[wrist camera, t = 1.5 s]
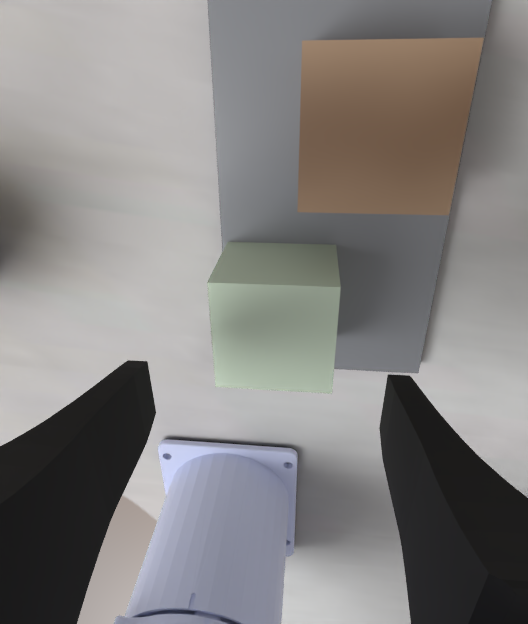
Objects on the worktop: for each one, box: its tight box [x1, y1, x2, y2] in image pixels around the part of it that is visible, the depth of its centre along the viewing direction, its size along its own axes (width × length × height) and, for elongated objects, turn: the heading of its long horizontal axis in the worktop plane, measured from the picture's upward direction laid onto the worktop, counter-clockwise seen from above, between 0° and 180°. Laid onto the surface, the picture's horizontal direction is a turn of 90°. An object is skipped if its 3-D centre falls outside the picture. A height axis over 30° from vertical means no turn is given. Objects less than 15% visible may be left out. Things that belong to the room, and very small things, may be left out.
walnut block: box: [297, 38, 484, 215], centre depth 14 cm, size 4×4×4 cm
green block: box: [207, 242, 341, 394], centre depth 18 cm, size 4×4×4 cm
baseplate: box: [208, 0, 492, 373], centre depth 18 cm, size 16×9×1 cm, turn 1°
